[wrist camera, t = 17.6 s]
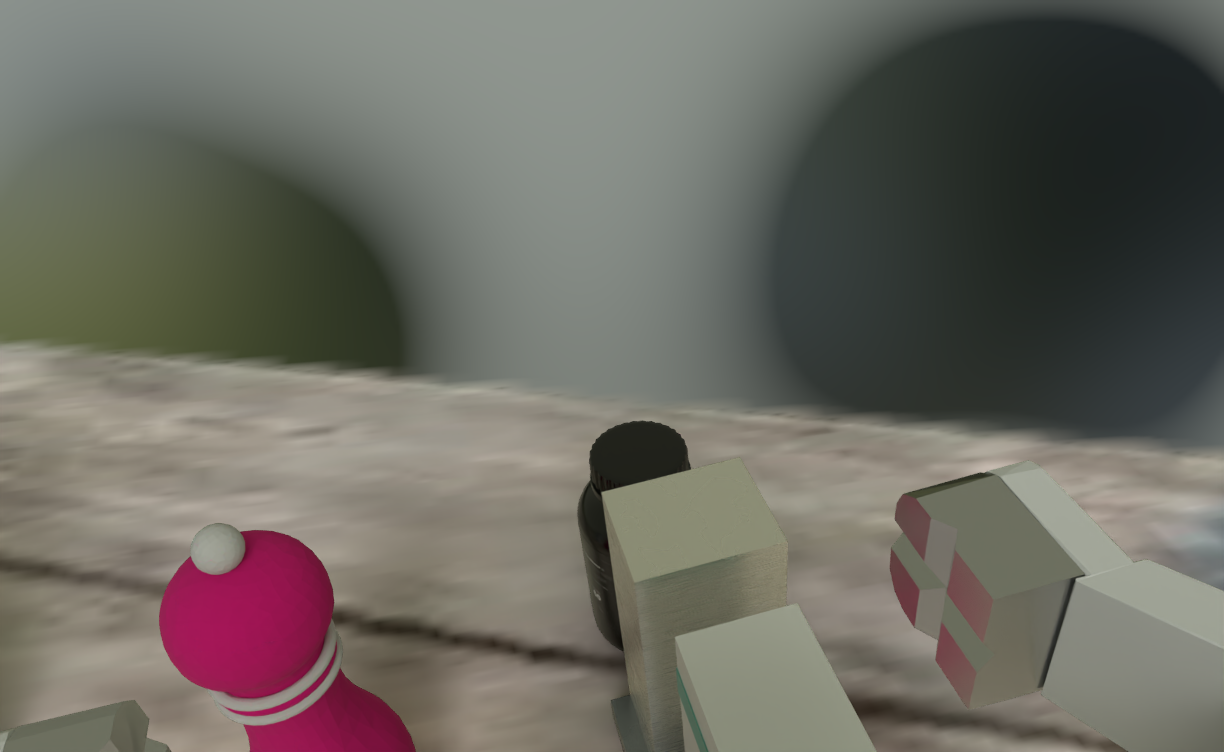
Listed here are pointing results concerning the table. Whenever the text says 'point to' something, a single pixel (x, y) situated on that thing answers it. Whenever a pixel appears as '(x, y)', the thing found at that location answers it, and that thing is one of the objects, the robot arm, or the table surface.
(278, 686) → the pepper mill
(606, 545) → the supplement bottle
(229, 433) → the table surface
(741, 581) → the rail
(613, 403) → the table surface
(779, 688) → the module
